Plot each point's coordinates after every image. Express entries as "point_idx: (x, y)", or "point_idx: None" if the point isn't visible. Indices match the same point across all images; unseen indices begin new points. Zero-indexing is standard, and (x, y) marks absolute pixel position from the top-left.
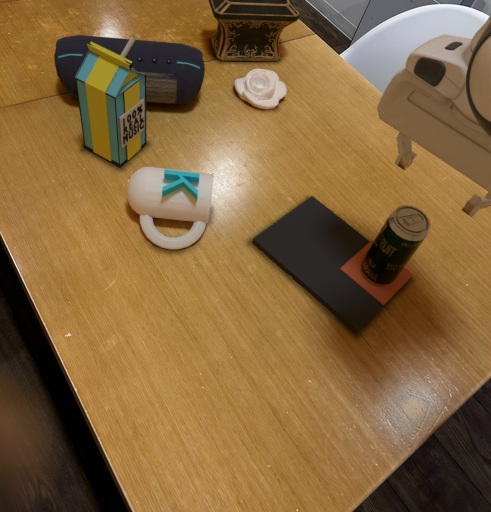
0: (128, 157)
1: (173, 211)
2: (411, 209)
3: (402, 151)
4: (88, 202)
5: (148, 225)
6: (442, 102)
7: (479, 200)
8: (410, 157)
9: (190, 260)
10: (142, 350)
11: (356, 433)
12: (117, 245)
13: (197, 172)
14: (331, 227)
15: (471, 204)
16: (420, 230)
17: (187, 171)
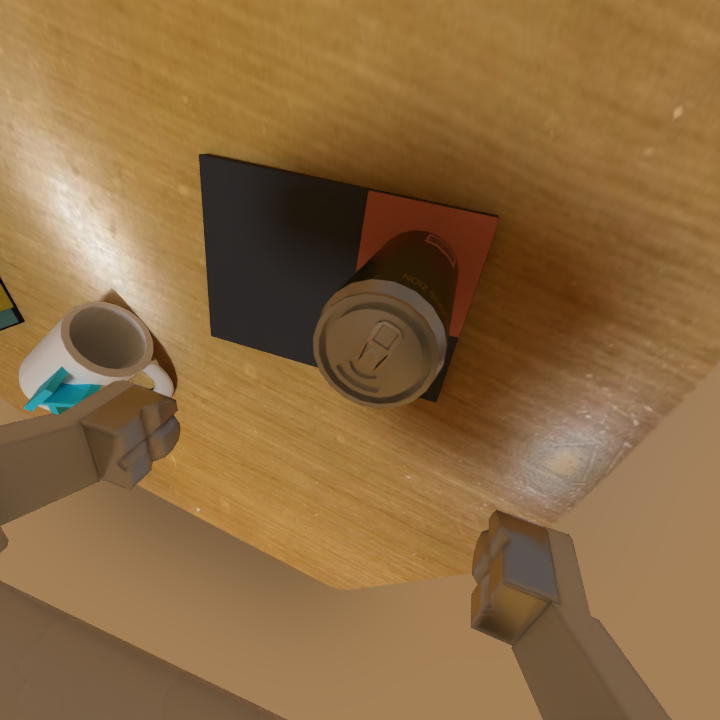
0: (6, 306)
1: None
2: (353, 314)
3: (65, 493)
4: None
5: None
6: None
7: (538, 631)
8: (117, 467)
9: (193, 400)
10: (249, 503)
11: (491, 510)
12: None
13: (49, 338)
14: (282, 217)
15: (497, 633)
16: (413, 383)
17: (43, 349)
